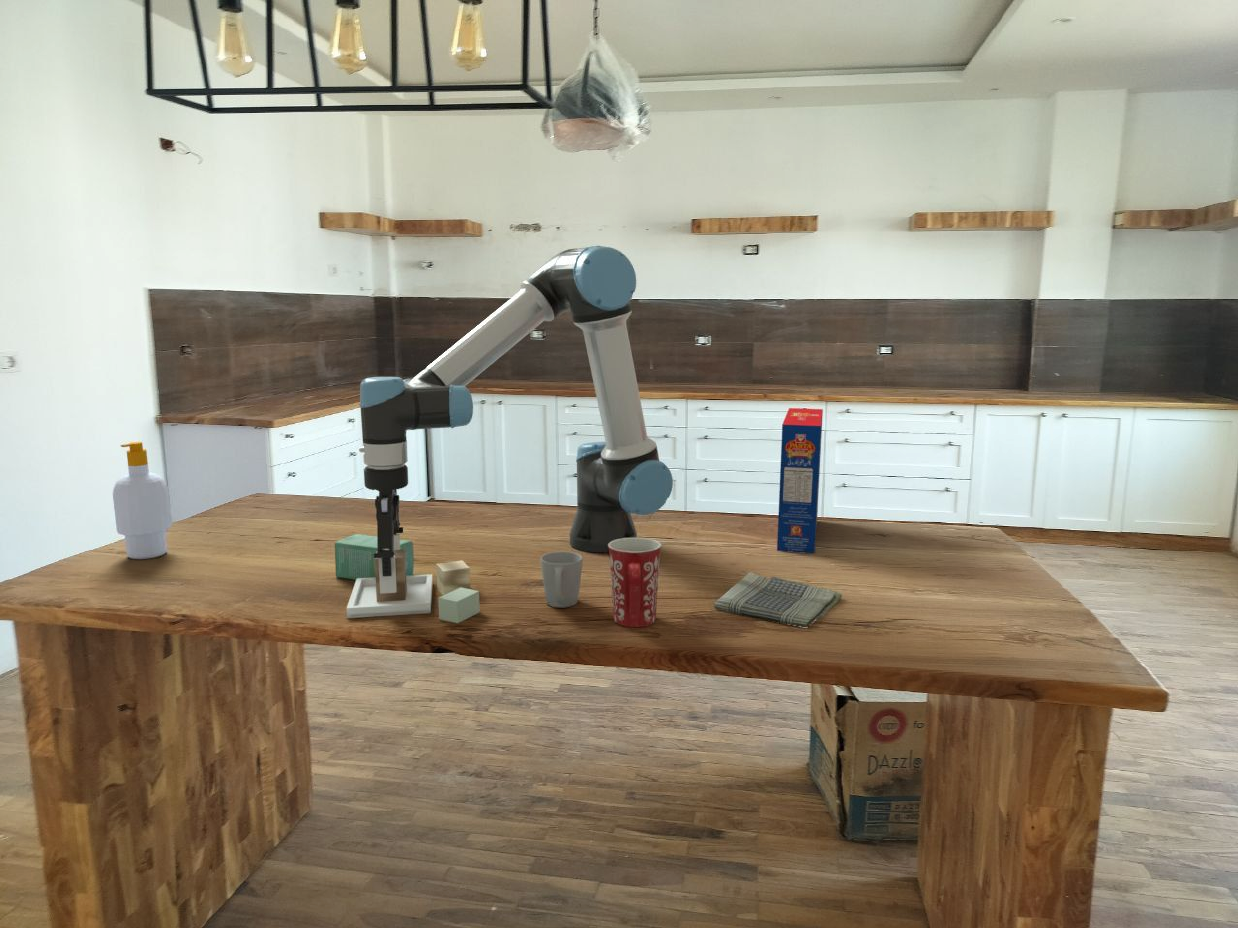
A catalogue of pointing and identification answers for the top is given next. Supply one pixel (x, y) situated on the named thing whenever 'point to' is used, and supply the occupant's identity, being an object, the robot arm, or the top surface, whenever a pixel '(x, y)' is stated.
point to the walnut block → (400, 579)
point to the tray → (367, 605)
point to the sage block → (458, 605)
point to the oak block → (452, 576)
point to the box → (364, 556)
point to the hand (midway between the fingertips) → (391, 580)
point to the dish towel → (778, 600)
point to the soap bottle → (142, 507)
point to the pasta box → (799, 480)
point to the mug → (634, 580)
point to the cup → (561, 578)
